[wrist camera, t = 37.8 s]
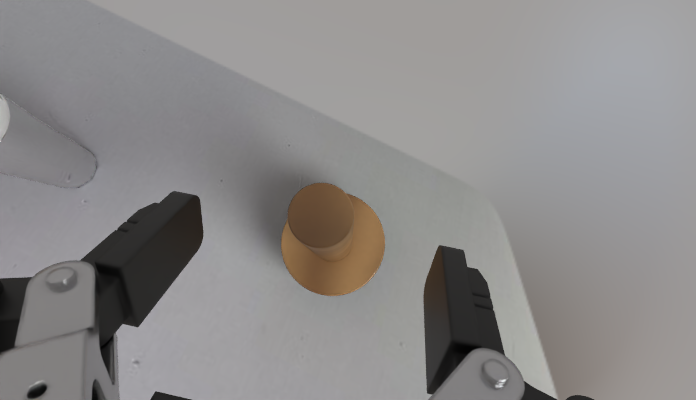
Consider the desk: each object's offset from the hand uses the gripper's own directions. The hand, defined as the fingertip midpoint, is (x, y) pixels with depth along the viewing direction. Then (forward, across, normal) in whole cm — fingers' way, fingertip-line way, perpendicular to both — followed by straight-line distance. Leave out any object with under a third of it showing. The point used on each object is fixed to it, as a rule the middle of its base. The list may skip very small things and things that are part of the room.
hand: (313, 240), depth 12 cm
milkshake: (+12, +20, +8) cm, 25 cm away
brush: (+10, 0, +9) cm, 14 cm away
